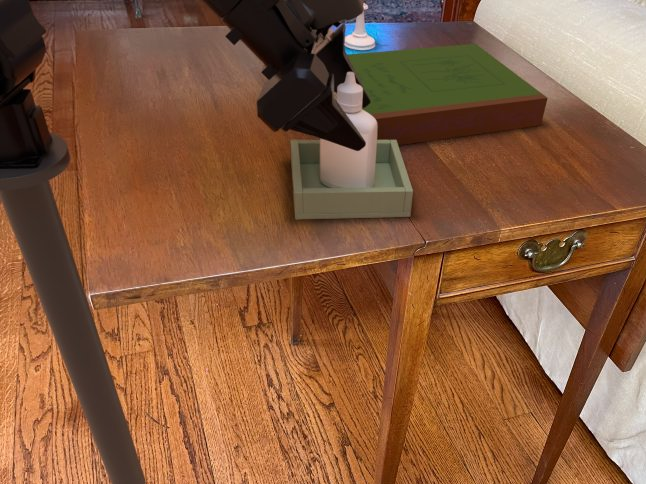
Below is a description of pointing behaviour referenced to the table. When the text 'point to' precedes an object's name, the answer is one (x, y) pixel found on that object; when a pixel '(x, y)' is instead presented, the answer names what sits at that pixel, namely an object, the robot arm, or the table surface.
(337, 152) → the eye dropper bottle
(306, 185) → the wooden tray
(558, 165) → the table surface
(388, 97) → the hardcover book
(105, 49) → the table surface
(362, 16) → the chess piece
